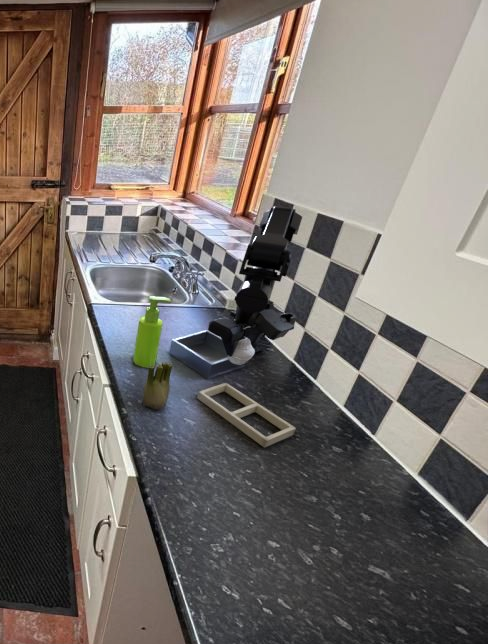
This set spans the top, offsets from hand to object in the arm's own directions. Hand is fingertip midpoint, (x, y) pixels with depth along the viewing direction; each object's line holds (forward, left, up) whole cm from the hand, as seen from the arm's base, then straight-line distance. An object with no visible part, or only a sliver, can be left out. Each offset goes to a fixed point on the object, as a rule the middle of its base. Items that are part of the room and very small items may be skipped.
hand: (238, 352), depth 98 cm
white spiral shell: (0, 0, -3) cm, 3 cm away
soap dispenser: (+11, -17, -11) cm, 23 cm away
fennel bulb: (+22, -2, -11) cm, 25 cm away
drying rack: (+6, +9, -11) cm, 15 cm away
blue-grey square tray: (-5, -11, -11) cm, 16 cm away
